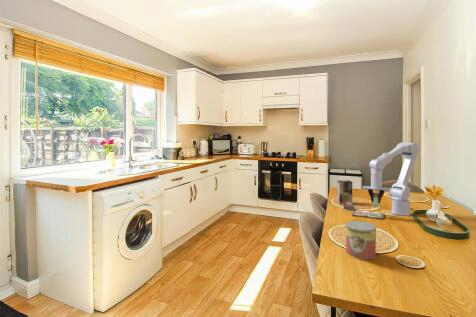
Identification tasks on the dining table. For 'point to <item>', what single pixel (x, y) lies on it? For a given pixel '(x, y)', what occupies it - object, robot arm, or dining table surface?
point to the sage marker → (375, 199)
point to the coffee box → (344, 191)
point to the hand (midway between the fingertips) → (375, 202)
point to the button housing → (349, 207)
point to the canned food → (361, 239)
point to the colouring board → (368, 214)
